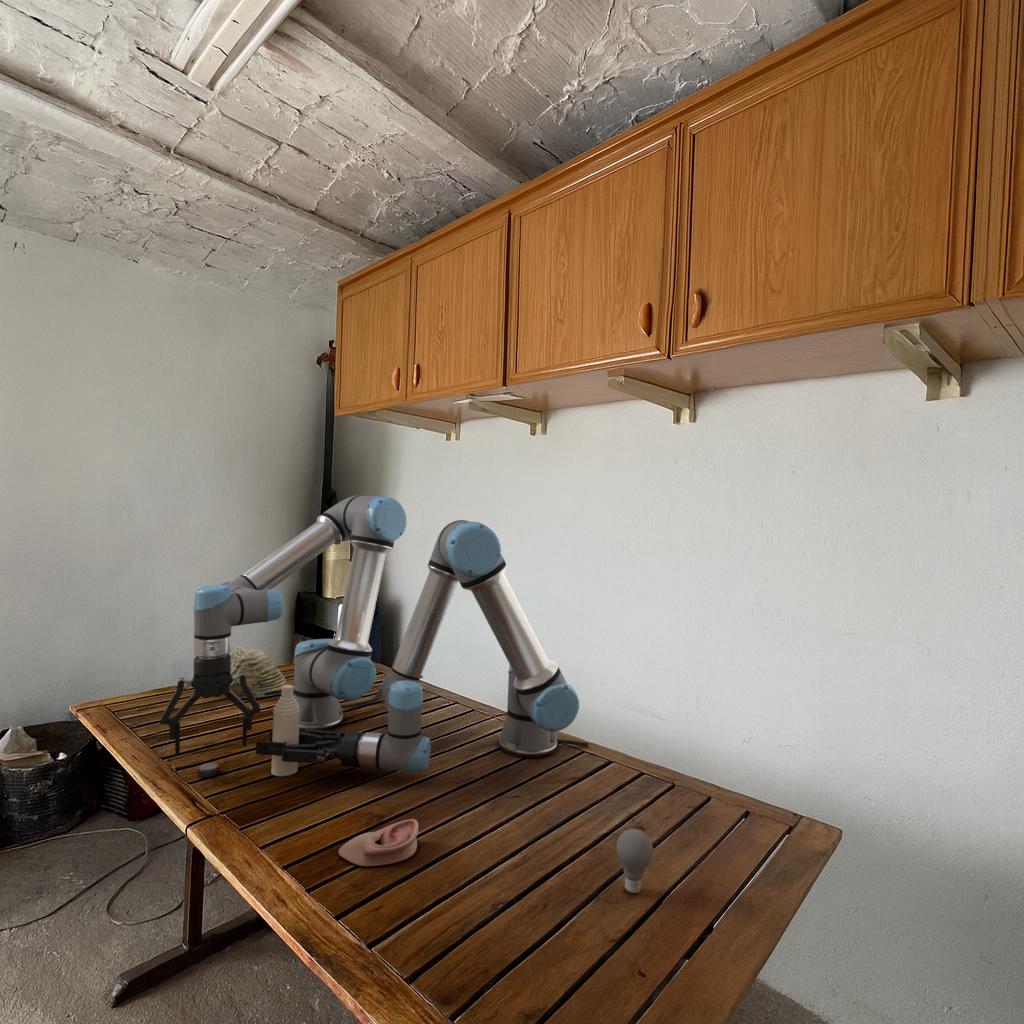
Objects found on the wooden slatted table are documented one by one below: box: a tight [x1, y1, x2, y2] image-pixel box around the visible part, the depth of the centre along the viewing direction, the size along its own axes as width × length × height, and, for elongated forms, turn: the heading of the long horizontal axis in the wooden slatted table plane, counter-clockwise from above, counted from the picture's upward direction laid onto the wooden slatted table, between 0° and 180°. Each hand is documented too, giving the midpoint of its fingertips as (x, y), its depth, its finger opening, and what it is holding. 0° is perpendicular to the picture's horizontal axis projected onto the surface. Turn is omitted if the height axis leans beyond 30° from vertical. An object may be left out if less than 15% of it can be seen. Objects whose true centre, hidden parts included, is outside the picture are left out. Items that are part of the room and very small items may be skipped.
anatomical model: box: [337, 818, 419, 867], centre depth 114 cm, size 13×4×12 cm
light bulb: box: [615, 828, 654, 894], centre depth 106 cm, size 6×6×10 cm
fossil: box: [229, 646, 287, 699], centre depth 198 cm, size 9×18×15 cm, turn 132°
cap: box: [198, 762, 219, 778], centre depth 142 cm, size 4×4×2 cm
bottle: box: [270, 684, 300, 777], centre depth 145 cm, size 6×6×20 cm
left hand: (211, 748), depth 143 cm, fingers open, 13 cm apart
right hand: (264, 741), depth 146 cm, fingers closed on bottle, 6 cm apart
